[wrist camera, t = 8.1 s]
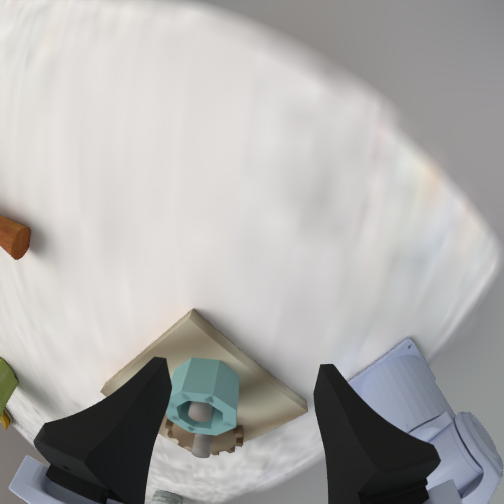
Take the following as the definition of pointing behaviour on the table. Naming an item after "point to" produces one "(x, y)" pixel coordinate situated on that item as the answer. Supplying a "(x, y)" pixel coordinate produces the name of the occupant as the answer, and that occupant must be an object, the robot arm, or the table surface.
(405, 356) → the robot arm
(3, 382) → the plant pot
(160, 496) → the camera lens
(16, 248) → the kendama
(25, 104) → the table surface
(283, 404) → the gear board
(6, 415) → the toy sandwich meal
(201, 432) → the teal faceted ring
